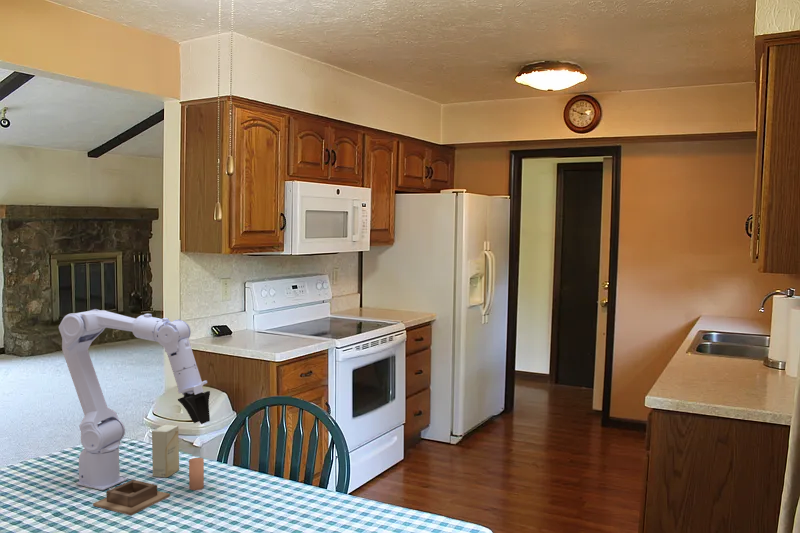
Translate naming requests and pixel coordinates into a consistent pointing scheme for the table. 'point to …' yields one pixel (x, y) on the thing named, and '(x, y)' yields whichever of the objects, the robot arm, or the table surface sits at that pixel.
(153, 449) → the skincare box
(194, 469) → the peg
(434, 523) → the table surface
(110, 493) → the holder
